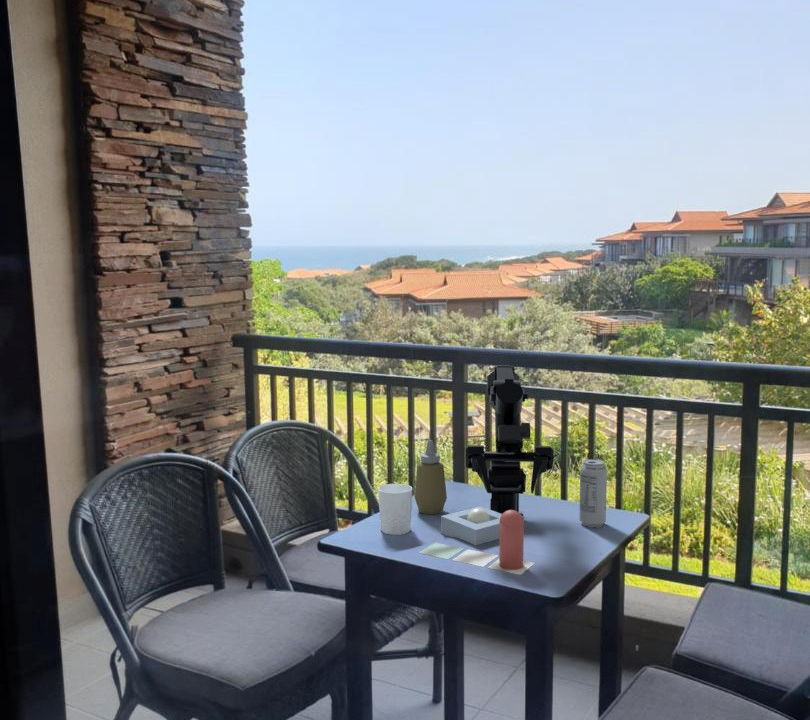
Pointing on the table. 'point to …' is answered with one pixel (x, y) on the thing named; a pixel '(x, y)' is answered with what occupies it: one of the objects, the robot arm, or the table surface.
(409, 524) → the white cup
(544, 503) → the table surface
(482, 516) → the plunger
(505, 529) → the red domed cylinder
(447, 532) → the button box
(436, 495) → the squeeze bottle
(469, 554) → the track
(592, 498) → the energy drink can
